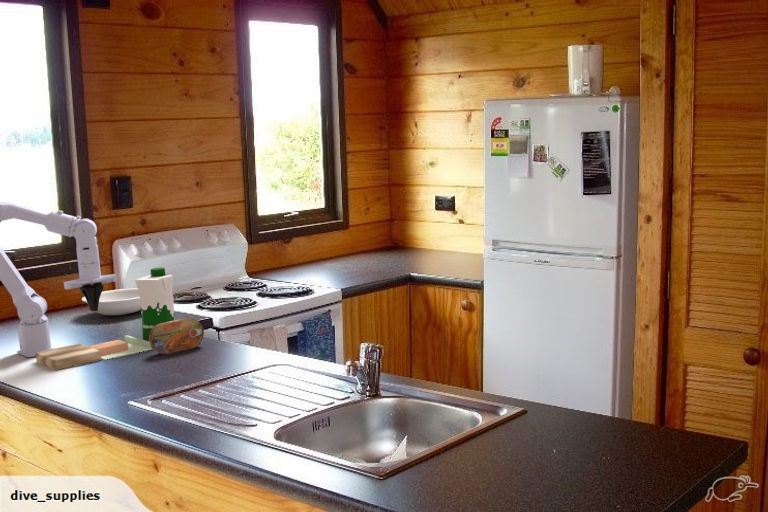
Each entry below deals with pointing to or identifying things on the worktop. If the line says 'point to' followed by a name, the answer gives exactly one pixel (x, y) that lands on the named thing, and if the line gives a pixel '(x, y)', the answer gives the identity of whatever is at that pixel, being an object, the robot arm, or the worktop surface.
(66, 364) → the wooden board
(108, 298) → the soup bowl
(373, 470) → the worktop surface
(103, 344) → the tile
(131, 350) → the mat
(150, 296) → the milk carton
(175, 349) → the tin
